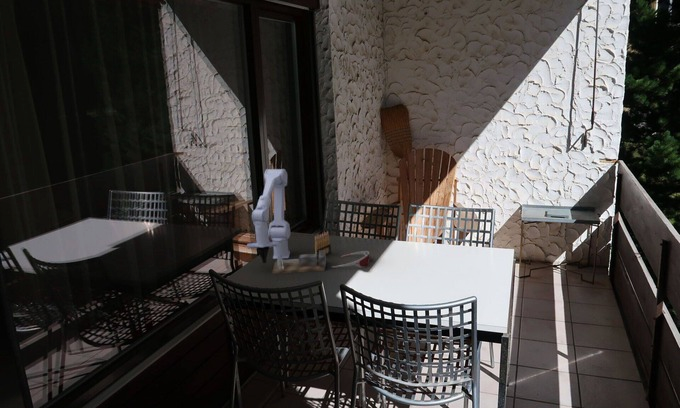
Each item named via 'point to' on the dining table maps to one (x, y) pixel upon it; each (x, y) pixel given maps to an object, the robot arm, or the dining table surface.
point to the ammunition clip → (322, 244)
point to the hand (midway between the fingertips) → (264, 262)
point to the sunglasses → (360, 262)
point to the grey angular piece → (284, 261)
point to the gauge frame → (304, 264)
